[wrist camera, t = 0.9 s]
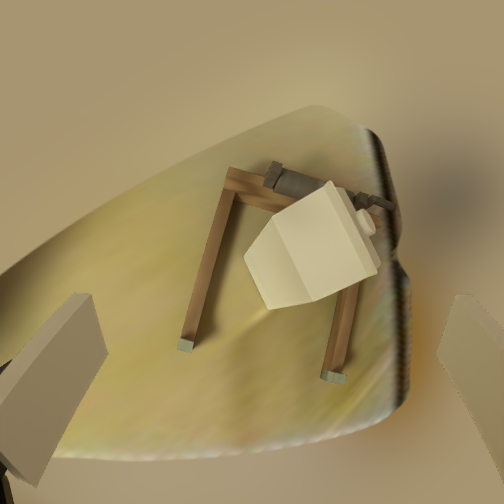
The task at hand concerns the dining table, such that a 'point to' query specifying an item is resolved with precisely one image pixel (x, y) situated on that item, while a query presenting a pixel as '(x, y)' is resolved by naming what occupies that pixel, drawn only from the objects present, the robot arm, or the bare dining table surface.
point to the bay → (277, 199)
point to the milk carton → (312, 249)
